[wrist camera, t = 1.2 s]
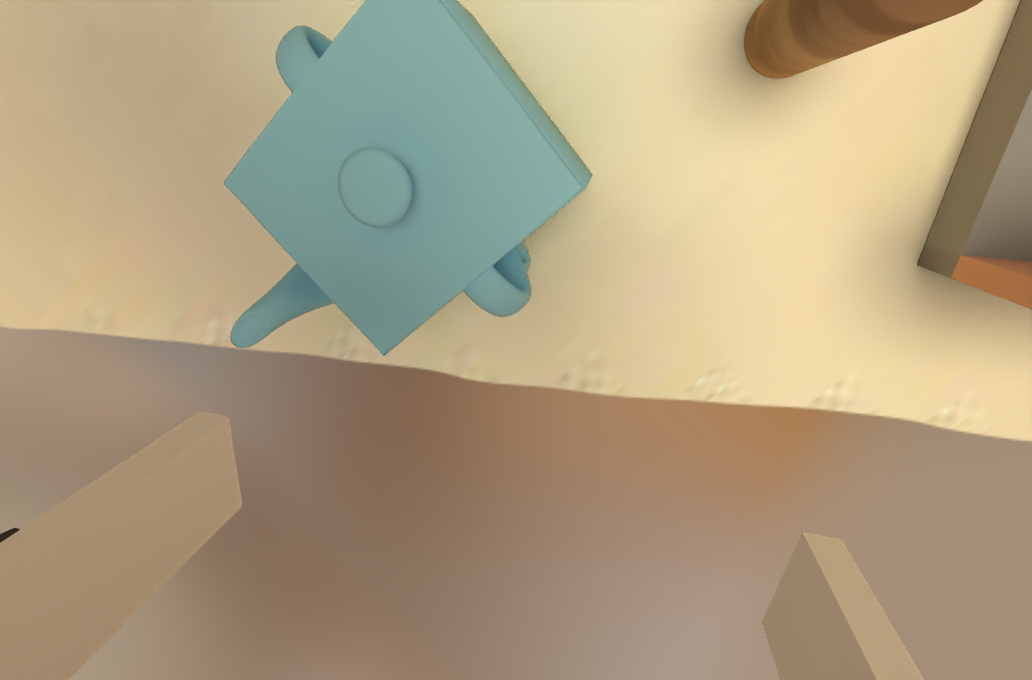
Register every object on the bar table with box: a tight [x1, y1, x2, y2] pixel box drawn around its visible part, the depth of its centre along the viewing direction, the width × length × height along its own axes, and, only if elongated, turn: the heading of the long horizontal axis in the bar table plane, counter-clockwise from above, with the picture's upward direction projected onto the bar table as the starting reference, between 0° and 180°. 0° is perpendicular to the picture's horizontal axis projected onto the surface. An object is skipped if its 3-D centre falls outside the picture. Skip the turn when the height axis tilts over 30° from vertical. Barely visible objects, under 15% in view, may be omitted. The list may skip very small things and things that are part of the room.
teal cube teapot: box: [224, 0, 592, 355], centre depth 25 cm, size 18×16×13 cm
